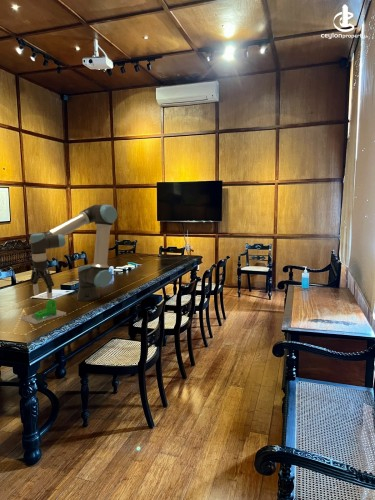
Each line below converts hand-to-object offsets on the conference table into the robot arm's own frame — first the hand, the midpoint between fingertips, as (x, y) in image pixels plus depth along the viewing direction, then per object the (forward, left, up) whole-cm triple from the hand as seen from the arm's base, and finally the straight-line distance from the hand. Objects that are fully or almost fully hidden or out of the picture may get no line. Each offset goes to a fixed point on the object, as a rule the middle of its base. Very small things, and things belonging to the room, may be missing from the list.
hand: (43, 296), depth 202 cm
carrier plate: (0, 0, -12) cm, 12 cm away
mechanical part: (0, 0, -11) cm, 11 cm away
